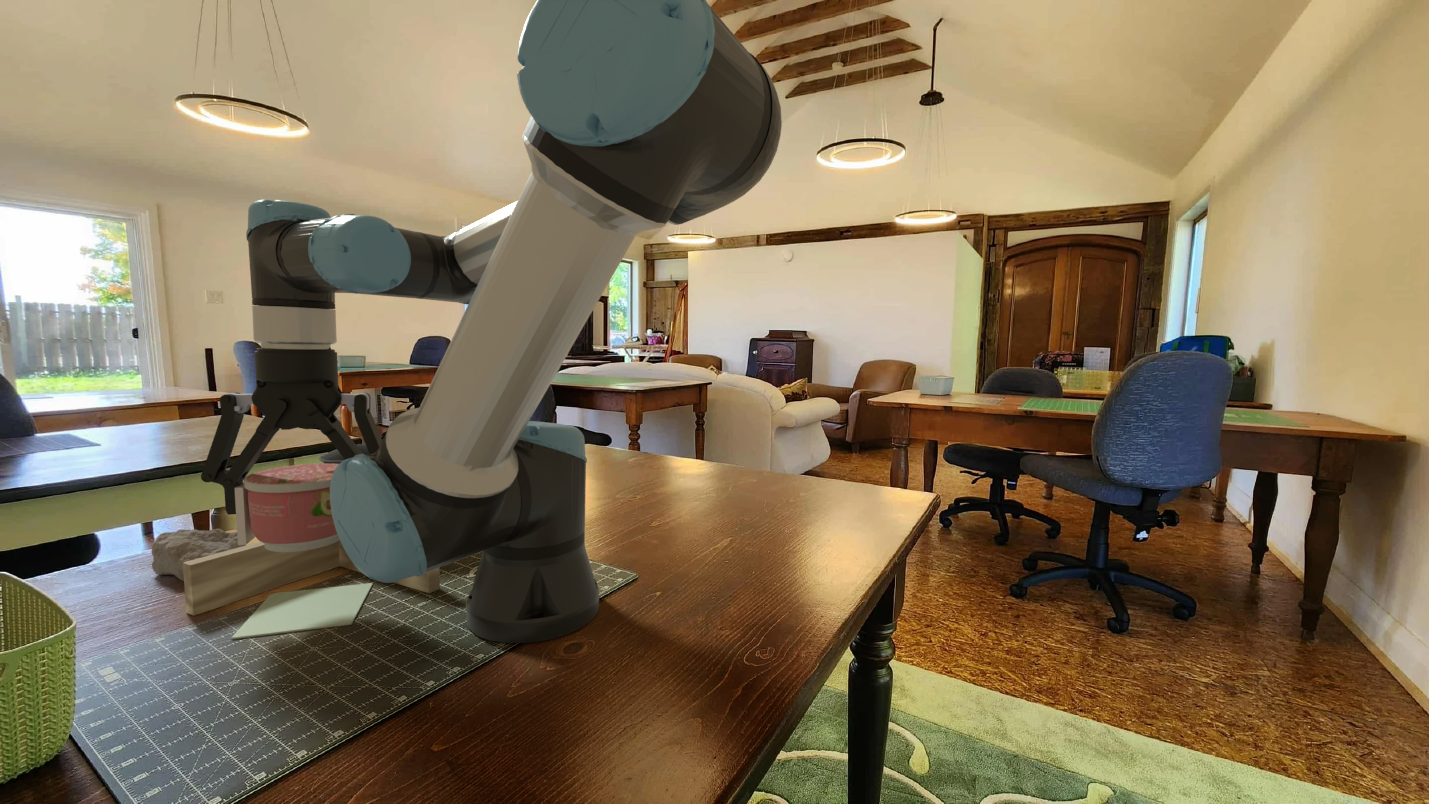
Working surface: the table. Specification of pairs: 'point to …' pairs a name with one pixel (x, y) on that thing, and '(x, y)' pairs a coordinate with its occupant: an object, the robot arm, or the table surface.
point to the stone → (188, 548)
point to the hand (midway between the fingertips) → (305, 536)
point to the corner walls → (267, 573)
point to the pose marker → (305, 610)
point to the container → (292, 507)
